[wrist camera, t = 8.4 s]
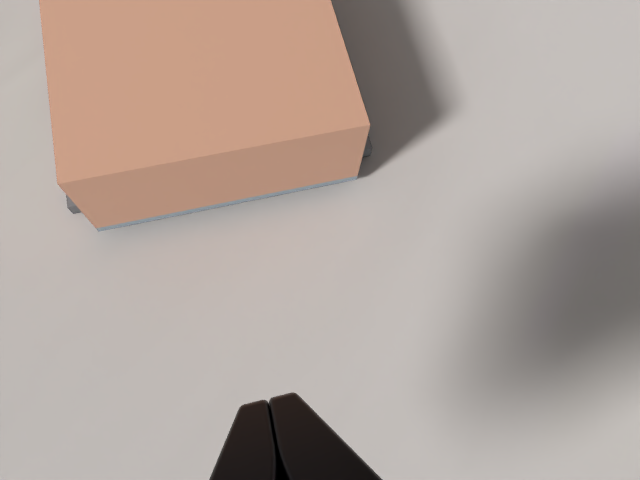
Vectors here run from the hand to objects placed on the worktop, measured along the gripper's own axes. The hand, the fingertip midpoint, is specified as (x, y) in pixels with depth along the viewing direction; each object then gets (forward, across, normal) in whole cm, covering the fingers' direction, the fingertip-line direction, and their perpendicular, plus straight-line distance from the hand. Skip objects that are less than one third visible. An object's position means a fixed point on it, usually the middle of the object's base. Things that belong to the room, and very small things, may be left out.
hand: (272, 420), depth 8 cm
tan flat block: (+13, 0, 0) cm, 13 cm away
